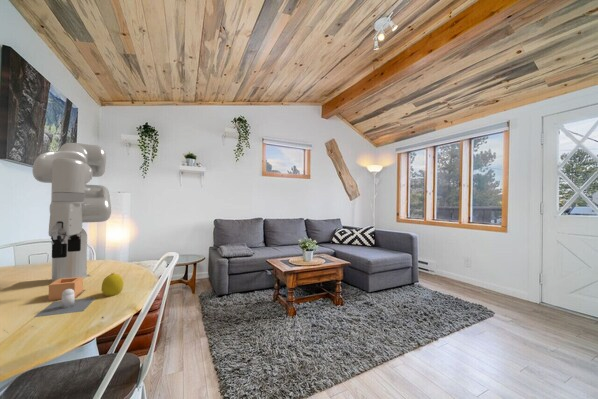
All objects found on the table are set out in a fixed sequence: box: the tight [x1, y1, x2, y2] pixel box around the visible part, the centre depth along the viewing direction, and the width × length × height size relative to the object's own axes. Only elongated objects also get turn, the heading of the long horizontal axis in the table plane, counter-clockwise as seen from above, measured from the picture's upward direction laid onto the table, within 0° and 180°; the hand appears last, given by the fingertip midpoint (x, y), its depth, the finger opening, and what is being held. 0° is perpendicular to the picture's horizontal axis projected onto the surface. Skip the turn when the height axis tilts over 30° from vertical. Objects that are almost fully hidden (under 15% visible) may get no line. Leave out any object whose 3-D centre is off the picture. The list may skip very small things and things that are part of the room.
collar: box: [48, 277, 84, 301], centre depth 77 cm, size 6×6×4 cm
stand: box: [43, 289, 86, 303], centre depth 77 cm, size 8×8×4 cm
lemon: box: [101, 272, 124, 297], centre depth 79 cm, size 6×6×8 cm
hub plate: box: [33, 289, 97, 318], centre depth 70 cm, size 10×10×6 cm
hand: (67, 254), depth 77 cm, fingers open, 9 cm apart
